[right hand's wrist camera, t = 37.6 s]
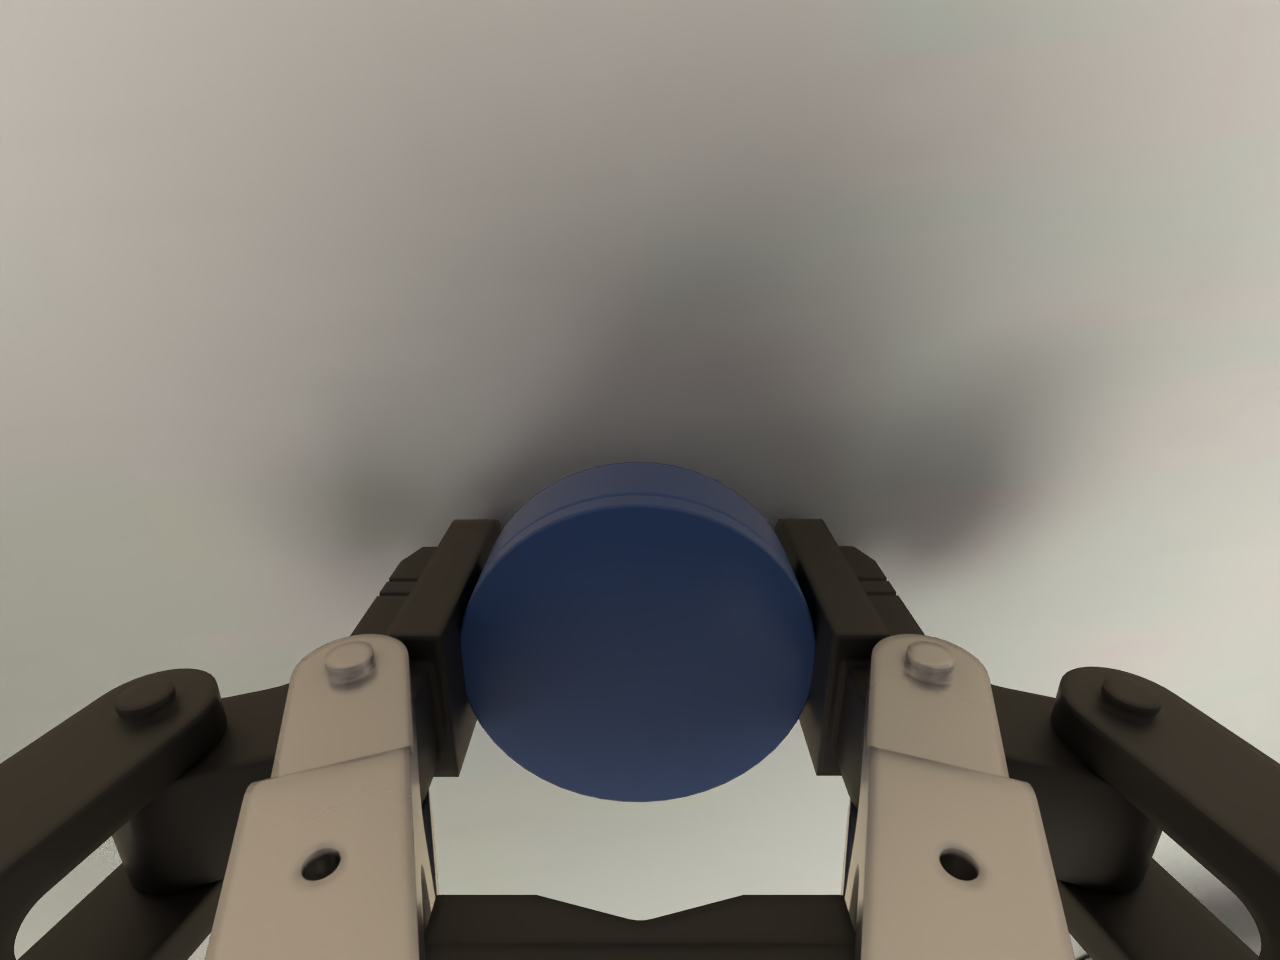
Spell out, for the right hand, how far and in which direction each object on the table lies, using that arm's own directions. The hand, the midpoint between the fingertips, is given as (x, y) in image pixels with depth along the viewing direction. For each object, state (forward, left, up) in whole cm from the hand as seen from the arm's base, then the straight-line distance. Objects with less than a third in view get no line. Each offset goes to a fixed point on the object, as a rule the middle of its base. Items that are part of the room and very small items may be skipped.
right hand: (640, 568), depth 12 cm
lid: (0, 0, +3) cm, 3 cm away
